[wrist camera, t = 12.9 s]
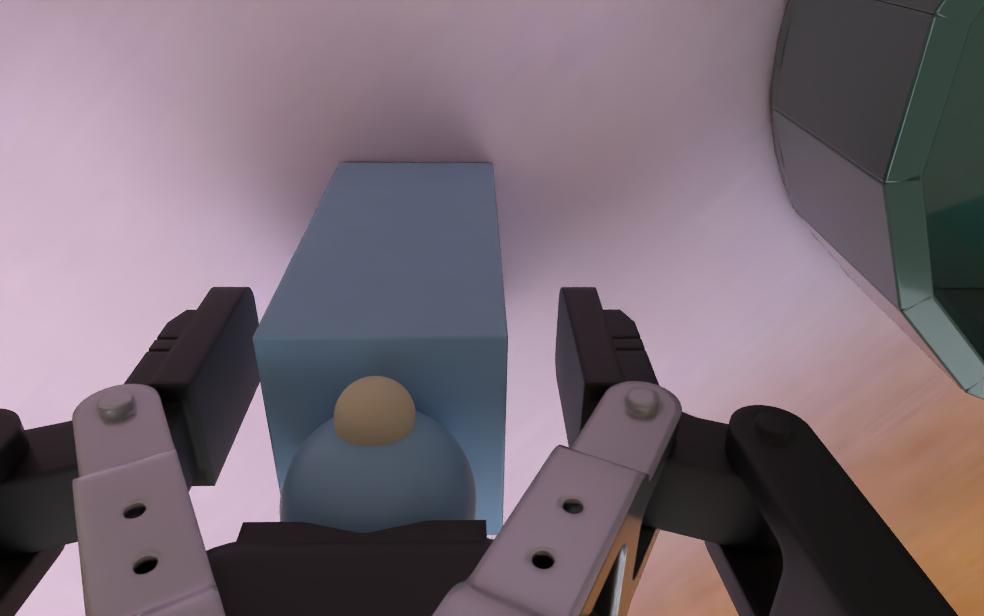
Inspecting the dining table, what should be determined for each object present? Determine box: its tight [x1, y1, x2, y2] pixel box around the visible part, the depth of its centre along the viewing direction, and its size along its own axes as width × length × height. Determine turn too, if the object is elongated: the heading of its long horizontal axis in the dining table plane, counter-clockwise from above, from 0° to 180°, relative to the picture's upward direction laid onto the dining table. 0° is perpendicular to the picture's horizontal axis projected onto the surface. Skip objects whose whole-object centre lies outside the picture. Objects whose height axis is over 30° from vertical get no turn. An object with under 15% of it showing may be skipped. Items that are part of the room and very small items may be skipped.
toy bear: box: [253, 162, 508, 535], centre depth 15 cm, size 4×4×12 cm
